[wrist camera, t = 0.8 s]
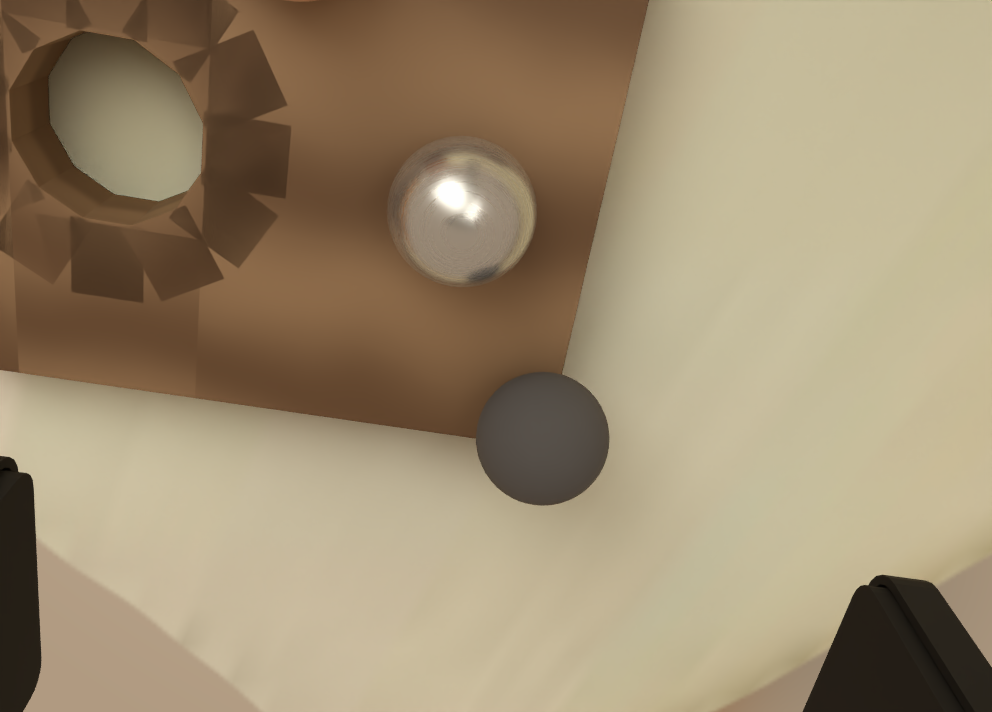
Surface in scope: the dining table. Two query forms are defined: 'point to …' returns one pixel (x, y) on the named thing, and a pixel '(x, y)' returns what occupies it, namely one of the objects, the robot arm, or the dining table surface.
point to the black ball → (542, 438)
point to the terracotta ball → (301, 0)
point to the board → (308, 202)
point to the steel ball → (462, 211)
